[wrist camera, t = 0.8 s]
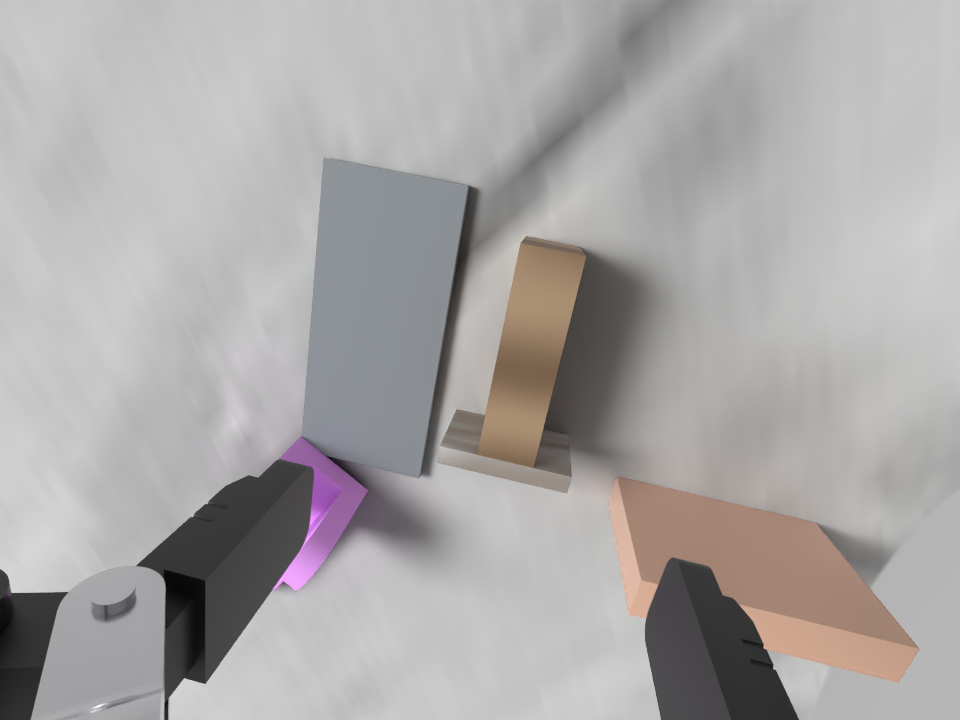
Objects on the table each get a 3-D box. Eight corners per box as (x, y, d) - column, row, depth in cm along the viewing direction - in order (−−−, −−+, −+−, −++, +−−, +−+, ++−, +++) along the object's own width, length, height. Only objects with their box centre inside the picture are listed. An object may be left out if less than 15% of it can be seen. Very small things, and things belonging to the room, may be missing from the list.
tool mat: (328, 158, 28) (323, 157, 27) (469, 185, 27) (468, 185, 26) (305, 445, 33) (300, 449, 33) (421, 473, 33) (419, 478, 32)
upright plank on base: (490, 229, 28) (477, 234, 23) (616, 254, 27) (630, 265, 22) (454, 423, 31) (436, 462, 27) (564, 448, 31) (566, 493, 26)
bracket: (301, 436, 32) (236, 502, 26) (368, 490, 33) (321, 567, 26) (208, 546, 37) (133, 625, 30) (268, 591, 38) (208, 678, 31)
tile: (616, 476, 31) (641, 580, 22) (815, 522, 30) (919, 649, 22) (606, 507, 32) (626, 619, 23) (800, 553, 31) (895, 687, 22)
